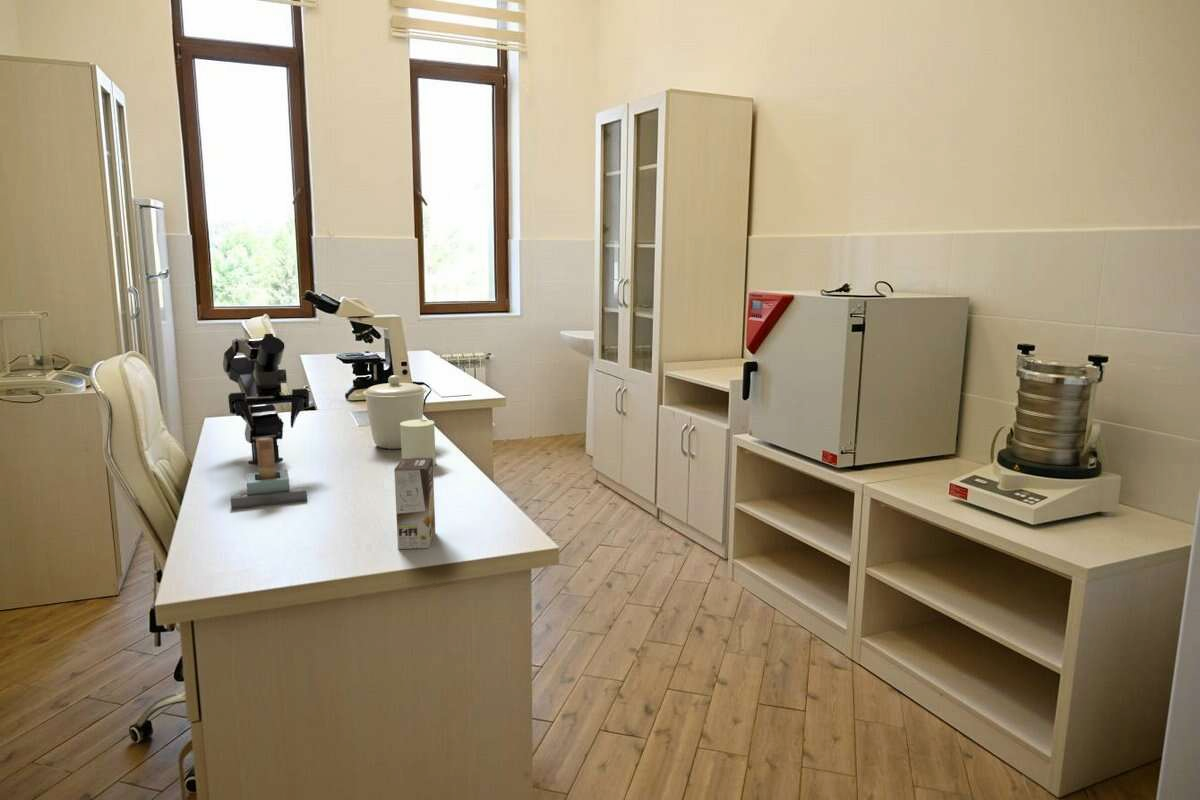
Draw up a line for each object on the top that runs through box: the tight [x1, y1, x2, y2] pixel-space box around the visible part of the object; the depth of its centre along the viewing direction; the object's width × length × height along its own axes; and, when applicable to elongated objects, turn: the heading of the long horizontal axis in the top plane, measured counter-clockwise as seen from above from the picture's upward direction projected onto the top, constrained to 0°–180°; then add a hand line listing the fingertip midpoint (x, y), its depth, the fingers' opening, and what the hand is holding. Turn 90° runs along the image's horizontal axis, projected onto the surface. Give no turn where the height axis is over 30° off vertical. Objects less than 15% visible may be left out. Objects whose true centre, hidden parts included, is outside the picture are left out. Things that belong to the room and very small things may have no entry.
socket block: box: [246, 469, 291, 495], centre depth 188 cm, size 9×9×5 cm
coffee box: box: [393, 458, 436, 550], centre depth 158 cm, size 9×6×16 cm
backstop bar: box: [230, 487, 308, 510], centre depth 182 cm, size 2×16×2 cm, turn 114°
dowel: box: [256, 437, 276, 480], centre depth 186 cm, size 4×4×13 cm
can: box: [400, 418, 437, 467], centre depth 215 cm, size 9×9×12 cm
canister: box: [362, 374, 427, 450], centre depth 236 cm, size 18×18×21 cm
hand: (272, 428), depth 198 cm, fingers open, 9 cm apart
